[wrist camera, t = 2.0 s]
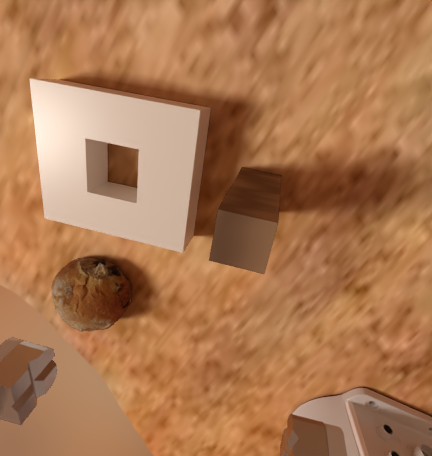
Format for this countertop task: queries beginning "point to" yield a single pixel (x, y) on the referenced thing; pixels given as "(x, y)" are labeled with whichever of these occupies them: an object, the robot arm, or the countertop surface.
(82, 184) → the socket block
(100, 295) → the bread roll
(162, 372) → the countertop surface
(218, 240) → the walnut peg
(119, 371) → the countertop surface
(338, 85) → the countertop surface
